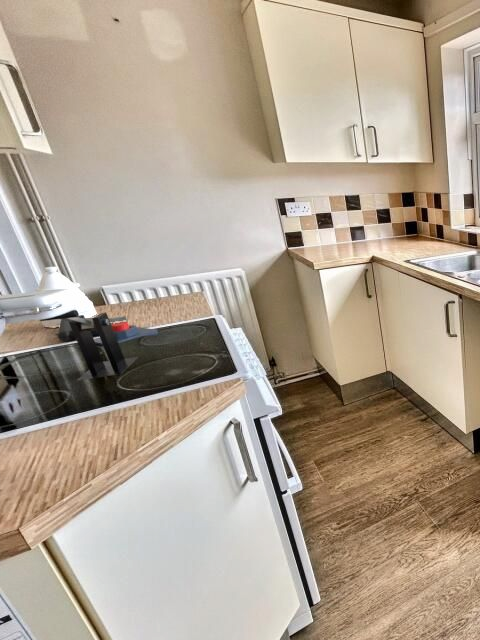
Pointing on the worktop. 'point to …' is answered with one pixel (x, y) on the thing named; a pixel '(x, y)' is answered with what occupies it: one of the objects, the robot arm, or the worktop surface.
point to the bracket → (92, 354)
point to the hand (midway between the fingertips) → (13, 300)
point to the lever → (76, 320)
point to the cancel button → (120, 326)
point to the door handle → (67, 333)
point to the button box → (130, 334)
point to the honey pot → (58, 281)
